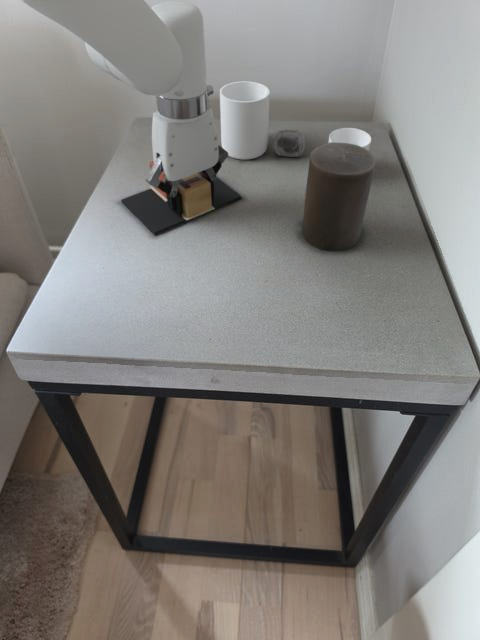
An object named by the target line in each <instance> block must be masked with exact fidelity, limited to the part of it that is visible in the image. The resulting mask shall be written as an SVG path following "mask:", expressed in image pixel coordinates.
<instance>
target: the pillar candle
mask: <svg viewBox="0 0 480 640" xmlns="http://www.w3.org/2000/svg"><path fill="white" fill-rule="evenodd" d="M376 164H377V160H376V155H375V154H374V152H372V151H370V150H369V151H368V150H366V149H365V148H363V147H360V146H358V145H354V144H349V143H337V142H336V143H334V142H330V143H328V142H327V143H324V144H321V145H319V146H318V145H317V147H315V148H314V149H312V151H311V152H310V156H309V163H308V169H307V170H308V172H307V179H306V180H307V181H306V187H305V195H304V205H303V213H302V221H301V234H302V238H303V239H304V240H305V241H306V242H307V243H308V244H309V245H311V246H312V247H315V248H317V249H320V250H321V251H327V252H337V251H345V250H348V249H350V248H353V247H354V246H355V245H356V244H357V243H358V242H359V240H360V237H361V234H362V233H361V232H362V228H363V227H362V226H363V223H364V218H365V214H366V210H367V205H368V202H369V196H370V192H371V187H372V182H373V177H374V174H375V167H376Z"/></svg>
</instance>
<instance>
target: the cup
mask: <svg viewBox="0 0 480 640" xmlns="http://www.w3.org/2000/svg"><path fill="white" fill-rule="evenodd" d="M330 142H334V143H336V142H337V143H349V144H354V145H358V146H360V147H363V148H365V149H366V150H368V151H370V149H371V146H372V136H371V135H370V134H369V133H368V132H367V131H364V130H363V129H359V128H355V127H341V128H336V129H334V130H332V131H331V132H330V133H329V135H328V141H327V143H330Z"/></svg>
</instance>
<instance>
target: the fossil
mask: <svg viewBox="0 0 480 640" xmlns="http://www.w3.org/2000/svg"><path fill="white" fill-rule="evenodd" d="M272 145H273V149H274V151H275V153H276V155H278V156H279V157H280V156H281V157H287V158H288V157H289V158H294V157H296V158H297V157H301V156H302V155H303V153H304V151H305V148H306V140H305V137H304V134H303V133H302V132H301V131H299V130H291V129H290V130H286V129H284V130H279V131H278V132H277V133H275V135H274V137H273V139H272Z"/></svg>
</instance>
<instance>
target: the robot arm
mask: <svg viewBox="0 0 480 640" xmlns="http://www.w3.org/2000/svg"><path fill="white" fill-rule="evenodd" d="M21 1H22V2H23V3H24V4H26V5H27V6H28V7H30V8H32V9H33V10H34V11H36V12H38V13H39V14H40V15H43V16H45V17H46V18H48V19H50V20H51V21H53V22H55V23H57V24H58V25H60V26H61V27H63V28H65V29H66V30H68V31H69V32H71V33H72V34H74V35H75V36H76V37H77V38H80V39H81V40H82V41H83V42H84V45H85V50H86V53H87V55H88V57H89V59H90V60H91V61H92V63H93V64H94V65H95V66H96V67H97V68H99V69H100V70H101V71H103V73H105V74H108V75H109V76H111V77H112V78H114V79H116V80H118V81H120V82H122V83H124V84H126V85H127V86H130V87H131V88H133V90H136V91H138V92H139V93H141V94H144V95H146V96H152V97H154V96H155V100H156V108H157V111H154V112H153V114H152V119H151V120H152V122H151V146H152V147H151V149H152V160H153V161H154V165H153V167H152V168H151V170H149V172H148V174H147V175H146V177H145V182H146V183H147V184H149V185H150V186H154V187H156V188H158V189H160V190H161V191H163V192H165V193H166V194H167V202H168V207H169V209H170V210H171V211H174V212H175V213H176V214H177V215H178V216H181V215H182V204H181V196H180V195H179V194H178V193H177V192H178V187H179V183H180V179H182V178H185V177H188V176H190V175H193V174H196V173H198V172H202V175H201V176H202V177H204V178H205V179H206V180H207V181H209V182H210V183H211V201H212V202H214V197H213V194H214V181H215V180H216V178H218V177H217V175H218V174H219V171H220V170H221V168H222V167H223V166H222V164H224V162H225V161H226V159H227V157H229V156H228V152H227V151H226V150H224V149H223V148H222V145H220V144H219V139H218V132H217V126H216V121H215V117H214V113H213V110H212V106H211V105H210V104H209V97H210V96H211V95H214V91H215V90H214V87H213V86H212V85H211V84H207V67H206V66H207V65H206V64H207V63H206V62H207V61H206V46H205V45H206V44H205V28H204V27H205V26H204V25H205V24H204V17H203V13H202V11H201V9H200V7H198V6H197V5H195V4H193V3H191V2H189V1H188V2H187V1H181V0H171V1H169V0H168V1H162V2H159V3H157V4H154V5H153V6H150V5H149V4H148V3H147V2H146V1H145V0H21ZM163 171H164V173H165V177H164V182H163V181H161V180H159V177H160V175H161V173H162V172H163Z"/></svg>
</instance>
